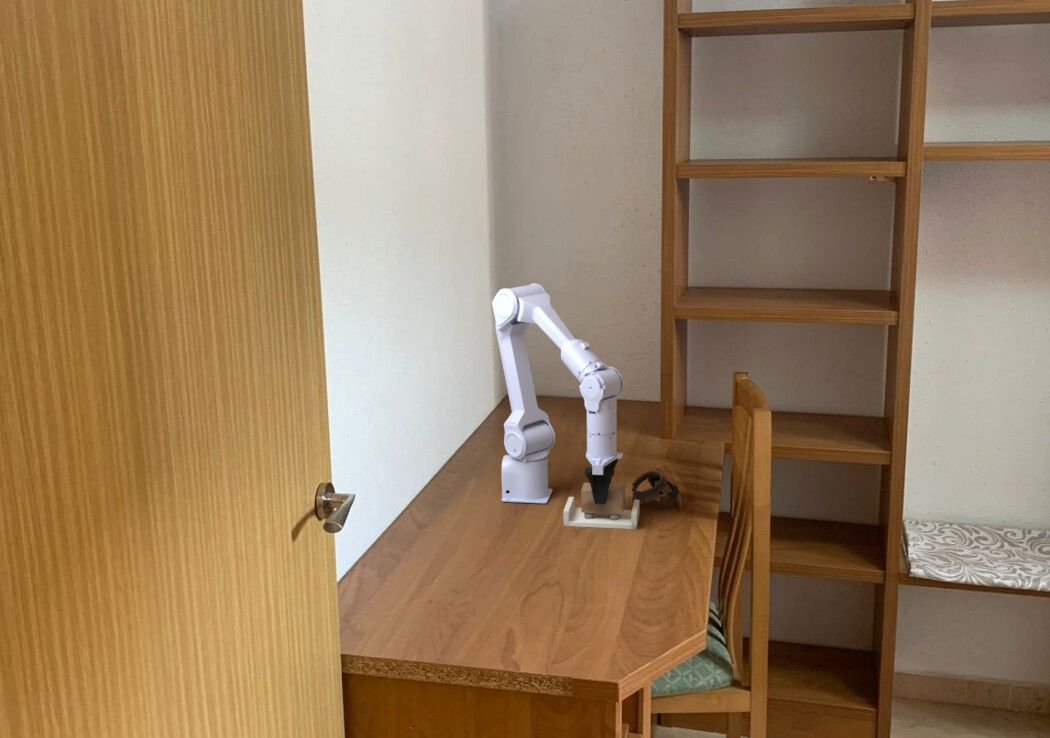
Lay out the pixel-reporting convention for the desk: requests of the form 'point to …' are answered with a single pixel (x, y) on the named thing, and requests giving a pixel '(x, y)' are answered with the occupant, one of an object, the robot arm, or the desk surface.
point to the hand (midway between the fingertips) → (601, 498)
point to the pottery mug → (655, 487)
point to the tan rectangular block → (613, 502)
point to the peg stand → (600, 517)
